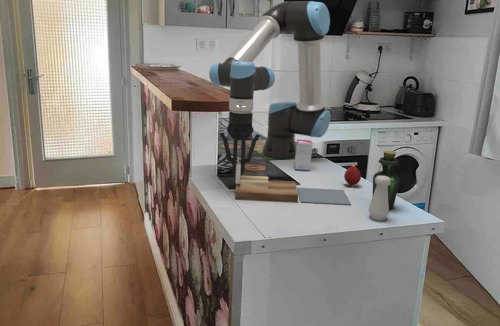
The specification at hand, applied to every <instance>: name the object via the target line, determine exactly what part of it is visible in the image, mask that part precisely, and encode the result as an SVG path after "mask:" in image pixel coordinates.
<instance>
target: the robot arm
mask: <svg viewBox="0 0 500 326" xmlns="http://www.w3.org/2000/svg"><path fill="white" fill-rule="evenodd" d="M330 16H331V15H330V11H329V9H328V7H327V5H326V4H325V3H323V2H320V1H314V0H310V1H309V0H307V1H306V0H305V1H302V0H300V1H297V0H296V1H290V0H289V1H288V0H287V1H282V2H280V3H278V4H275V5H273V6H272V7H271V8H269V9H268V10H267V11H265V12H264V13H263V14H262V15H261V16H260V17H259V18H258V20H257V23H256V26H255V27H254V28H253V29H252V30H251V31H250V33H249V34H248V35H247V36H246V37H245V38H244V39H243V40H242V42H240V44H238V46H237V47H236V48H235V49H234V50H233V52H231V54H230V55H229V56H228V57H227V58H226V59H225V60H224V62H222V63H221V62H218V63H217V62H216V63H213V64H212V65H210V69H209V72H208V76H209V80H210V83H212V84H213V85H216V86H220V87H227V88H229V101H228V102H229V103H228V105H229V106H228V110H229V112H228V125H227V127H226V129H225V130H223V131H222V130H221V131H220V133H219V137H220V138H221V139H222V140H223V141H222V142H223V146H224V150H225V156H226V160H227V162H230V163H232V173H233V174H235V184H236V183H238V184H240V179H241V175H242V174H244V173H245V164H247V163H251V160H252V157H253V156H252V155H253V153H254V150H255V147H256V144H257V141H258V140H259V138H260V135H261V134H260V133H259V132H256V131H255V130H254V127H253V117H254V116H253V115H254V114H253V112H252V111H254V92H257V91H265V90H268V89H271V88H272V86H274V83H275V80H276V76H275V72H274V71H273V70H272V68H270V67H268V66H262V65H261V66H256V65H255V62H254V61H255V59H256V58H258V56H260V53H262V51H263V50H264V49H265V48H266V47H267V46H268V45H269V43H270V42H271V41H272V40H273V39H276V38H277V37H278V36H280V35H281V34H293V41H294V42H295V43H296V44H297V55H298V56H297V57H298V58H297V60H298V61H297V62H298V83H299V84H298V86H299V87H298V89H299V102H298V103H297V101H296V102H295V101H281V102H273V103H271V104H269V108H268V113H267V114H268V116H267V117H268V118H267V119H268V121H267V136H266V137H267V138H266V139H265V142H264V145H263V147H262V155H263V156H265V157H267V158H273V159H279V160H280V159H281V160H282V159H283V160H287V159H293V158H294V159H295V154H296V140H295V135H300V136H306V137H310V138H322V137H324V136H325V134H326V133H327V132H328V129H329V126H330V122H331V112H330V111H329V110H328V109H326V103H325V102H323V101H322V83H321V82H322V80H321V79H322V78H321V77H322V75H321V74H322V73H321V72H322V71H321V66H322V65H321V64H322V63H321V42H322V41H323V40H324V39H325V35H327V34H328V32H329V30H330V25H331V17H330ZM228 135H229V136H230V137H231V139H232V140H233V144H232V146H233V147H232V148H233V149H232V154H231V150H230V143H229V140H228V139H229V138H228V137H229V136H228ZM250 137H251V139H252V140H251V143H250V146H249V149H248V152H247V155H246V141H247V140H248V138H250ZM239 141H241V146H240V147H241V151H240V152H241V153H240V162H239V161H238V142H239ZM246 156H247V157H246Z"/></svg>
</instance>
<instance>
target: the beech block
mask: <svg viewBox="0 0 500 326" xmlns="http://www.w3.org/2000/svg"><path fill="white" fill-rule="evenodd" d="M240 179H241V184H240V188H245V189H265V190H268V180H269V176H262V175H260V176H259V175H258V176H257V175H242V174H241V177H240Z"/></svg>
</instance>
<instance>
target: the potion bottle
mask: <svg viewBox="0 0 500 326" xmlns="http://www.w3.org/2000/svg"><path fill="white" fill-rule="evenodd" d="M396 155H397V152H396V151H393V150H383V157H380V158H379V160H378V163H379V164H380V165H381V168H382V170H381V171H377V172H375V173H374V175H372V195H371V196H372V197H373V194H374V191H375V188H376V185H377V184H376V183H375V179H376V177H377V176H387V177H389V178H390V185H389V186H388V206H389V211H392V210H393V209H394V207H395V202H396V200H397V199H396V198H397V193H398V191H399V185H400V181H401V180H400V178H399V176H398V175H397V174H396V173H395V172H393V170H394V168H395V166H398V165H399V160H398V159H397V158H395V157H396Z"/></svg>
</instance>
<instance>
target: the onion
mask: <svg viewBox="0 0 500 326" xmlns="http://www.w3.org/2000/svg"><path fill="white" fill-rule="evenodd" d="M361 175H362V174H361V172H360V170H359V168H357V167H356V166H355V164H352V165H351V166H350V167H348V168H347V169H346V170H345V172H344V175H343V176H344V177H343V178H344V180H345V183H347V184H348V185H349V186H350V187H353V186H355V185H357V184H359V182H360V181H361V180H362V176H361Z"/></svg>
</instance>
